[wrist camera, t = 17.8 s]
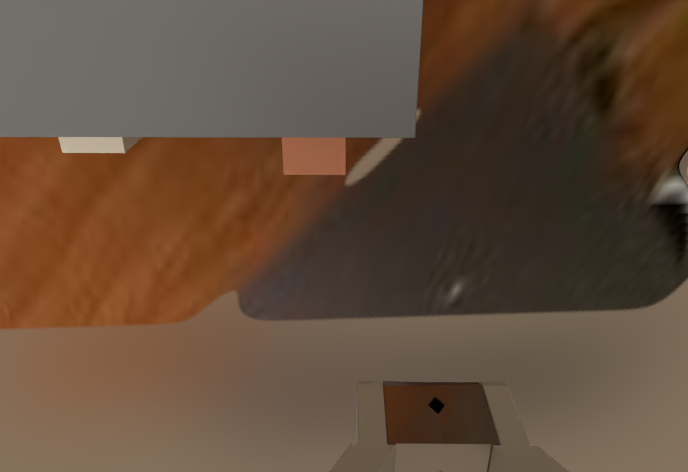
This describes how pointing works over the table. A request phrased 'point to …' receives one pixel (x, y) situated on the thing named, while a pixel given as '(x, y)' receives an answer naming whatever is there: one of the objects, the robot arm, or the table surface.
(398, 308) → the table surface
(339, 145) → the rust plug
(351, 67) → the block
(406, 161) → the table surface
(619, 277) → the table surface
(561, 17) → the table surface
